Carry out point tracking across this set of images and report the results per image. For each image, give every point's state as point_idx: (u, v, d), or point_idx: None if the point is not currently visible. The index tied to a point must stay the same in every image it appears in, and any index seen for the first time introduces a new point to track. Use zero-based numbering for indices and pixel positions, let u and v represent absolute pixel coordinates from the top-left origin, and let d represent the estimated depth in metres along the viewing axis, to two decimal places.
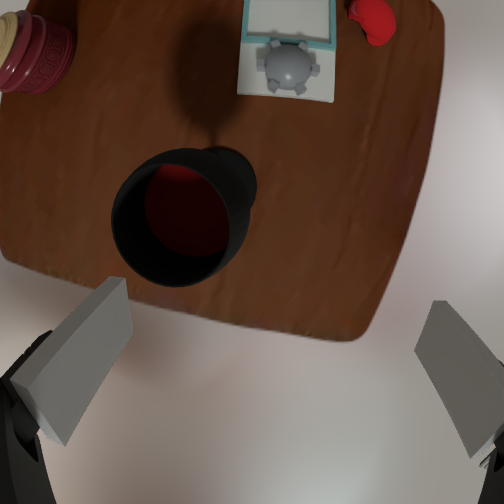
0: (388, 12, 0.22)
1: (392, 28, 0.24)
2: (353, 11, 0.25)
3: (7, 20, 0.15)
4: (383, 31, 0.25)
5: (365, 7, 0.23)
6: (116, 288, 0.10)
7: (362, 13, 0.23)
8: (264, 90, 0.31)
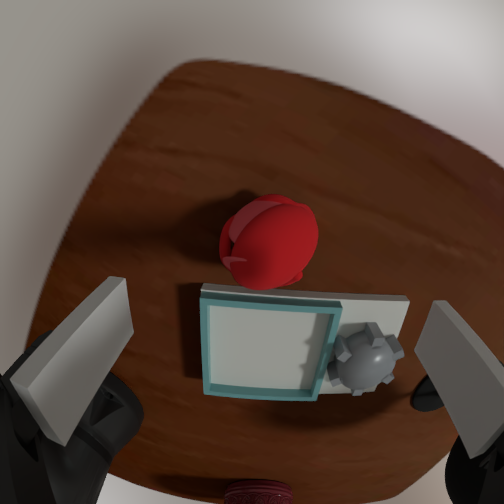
0: (274, 240, 0.18)
1: (301, 221, 0.19)
2: None
3: None
4: (312, 240, 0.19)
5: (272, 284, 0.19)
6: (116, 288, 0.10)
7: (283, 283, 0.20)
8: None
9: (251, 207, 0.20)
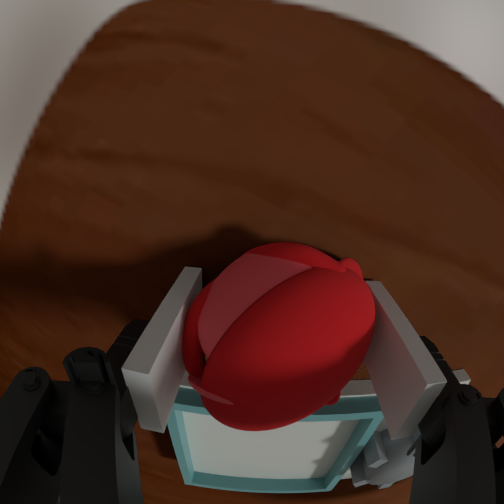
0: (295, 365, 0.07)
1: (352, 310, 0.08)
2: None
3: None
4: (367, 342, 0.09)
5: (285, 425, 0.08)
6: (197, 277, 0.12)
7: None
8: None
9: (245, 272, 0.10)
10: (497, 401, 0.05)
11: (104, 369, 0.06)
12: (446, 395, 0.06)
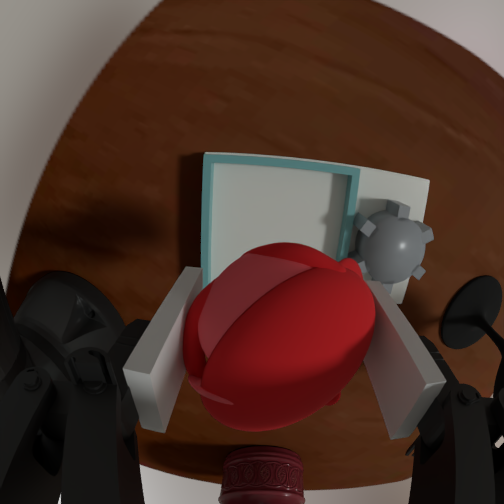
0: (295, 366, 0.07)
1: (352, 310, 0.08)
2: None
3: None
4: (367, 342, 0.09)
5: (285, 425, 0.08)
6: (198, 277, 0.12)
7: None
8: None
9: (245, 272, 0.10)
10: (496, 401, 0.05)
11: (105, 369, 0.06)
12: (445, 395, 0.06)
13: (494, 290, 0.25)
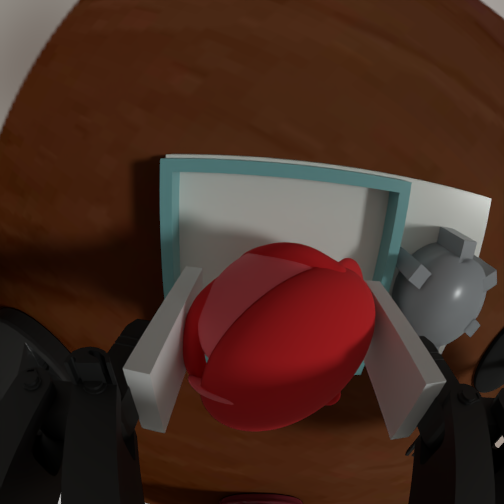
0: (295, 365, 0.07)
1: (352, 310, 0.08)
2: None
3: None
4: (367, 342, 0.09)
5: (285, 425, 0.08)
6: (198, 277, 0.12)
7: None
8: None
9: (245, 272, 0.10)
10: (497, 401, 0.05)
11: (105, 369, 0.06)
12: (445, 395, 0.06)
13: None
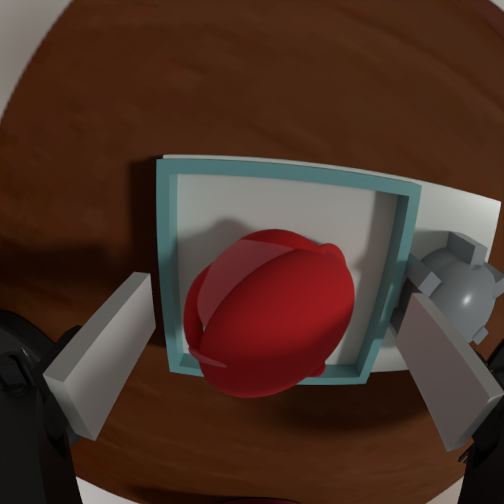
0: (279, 331, 0.09)
1: (330, 286, 0.10)
2: None
3: None
4: (346, 316, 0.10)
5: (274, 393, 0.10)
6: (142, 283, 0.11)
7: None
8: None
9: (237, 254, 0.11)
10: None
11: (25, 372, 0.05)
12: (502, 404, 0.05)
13: None
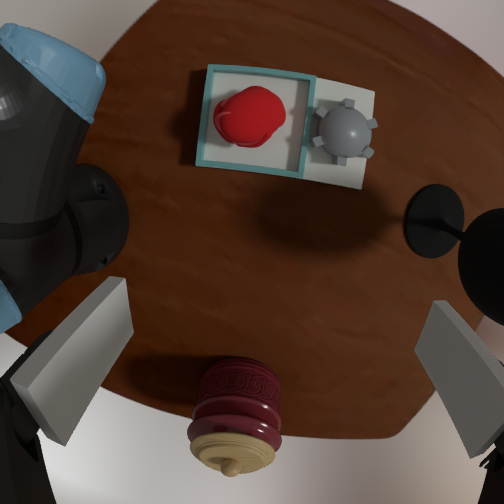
0: (250, 101, 0.24)
1: (270, 96, 0.25)
2: (248, 144, 0.27)
3: (211, 443, 0.29)
4: (278, 109, 0.25)
5: (248, 133, 0.25)
6: (116, 288, 0.10)
7: (257, 137, 0.25)
8: (362, 160, 0.30)
9: None
10: None
11: None
12: None
13: (454, 201, 0.31)
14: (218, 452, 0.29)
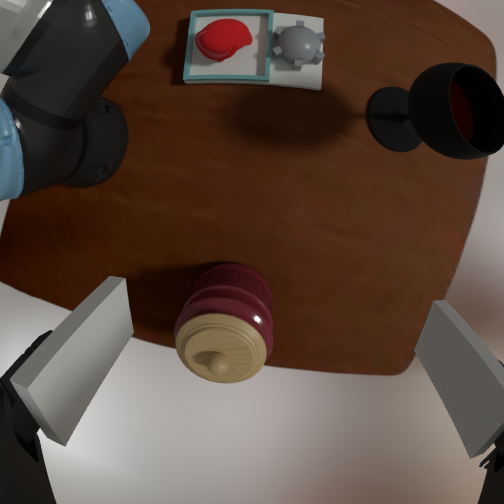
0: (221, 23, 0.27)
1: (237, 21, 0.28)
2: (222, 55, 0.30)
3: (195, 330, 0.32)
4: (243, 29, 0.28)
5: (221, 43, 0.28)
6: (116, 288, 0.10)
7: (228, 47, 0.29)
8: (318, 66, 0.33)
9: None
10: None
11: None
12: None
13: None
14: (203, 342, 0.32)
